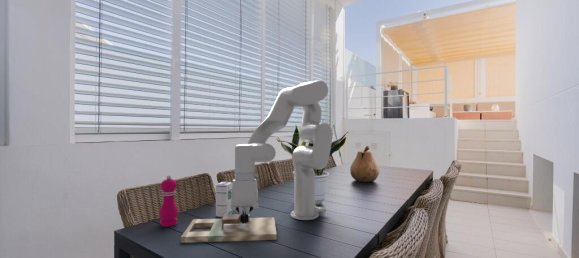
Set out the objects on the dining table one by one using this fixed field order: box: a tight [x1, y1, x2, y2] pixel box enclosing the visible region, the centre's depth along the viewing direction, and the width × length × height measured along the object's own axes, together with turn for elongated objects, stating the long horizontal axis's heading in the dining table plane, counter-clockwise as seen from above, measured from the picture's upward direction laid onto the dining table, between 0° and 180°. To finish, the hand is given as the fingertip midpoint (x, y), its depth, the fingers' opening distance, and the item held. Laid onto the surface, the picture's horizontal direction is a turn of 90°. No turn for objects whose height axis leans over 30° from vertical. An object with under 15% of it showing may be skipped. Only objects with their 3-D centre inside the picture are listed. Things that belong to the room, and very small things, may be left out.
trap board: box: [180, 214, 277, 244], centre depth 108 cm, size 33×18×4 cm, turn 96°
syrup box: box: [215, 181, 234, 218], centre depth 127 cm, size 6×6×14 cm
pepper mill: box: [158, 174, 179, 228], centre depth 115 cm, size 7×7×20 cm
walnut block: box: [221, 213, 240, 229], centre depth 108 cm, size 6×6×4 cm
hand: (244, 223), depth 108 cm, fingers closed
